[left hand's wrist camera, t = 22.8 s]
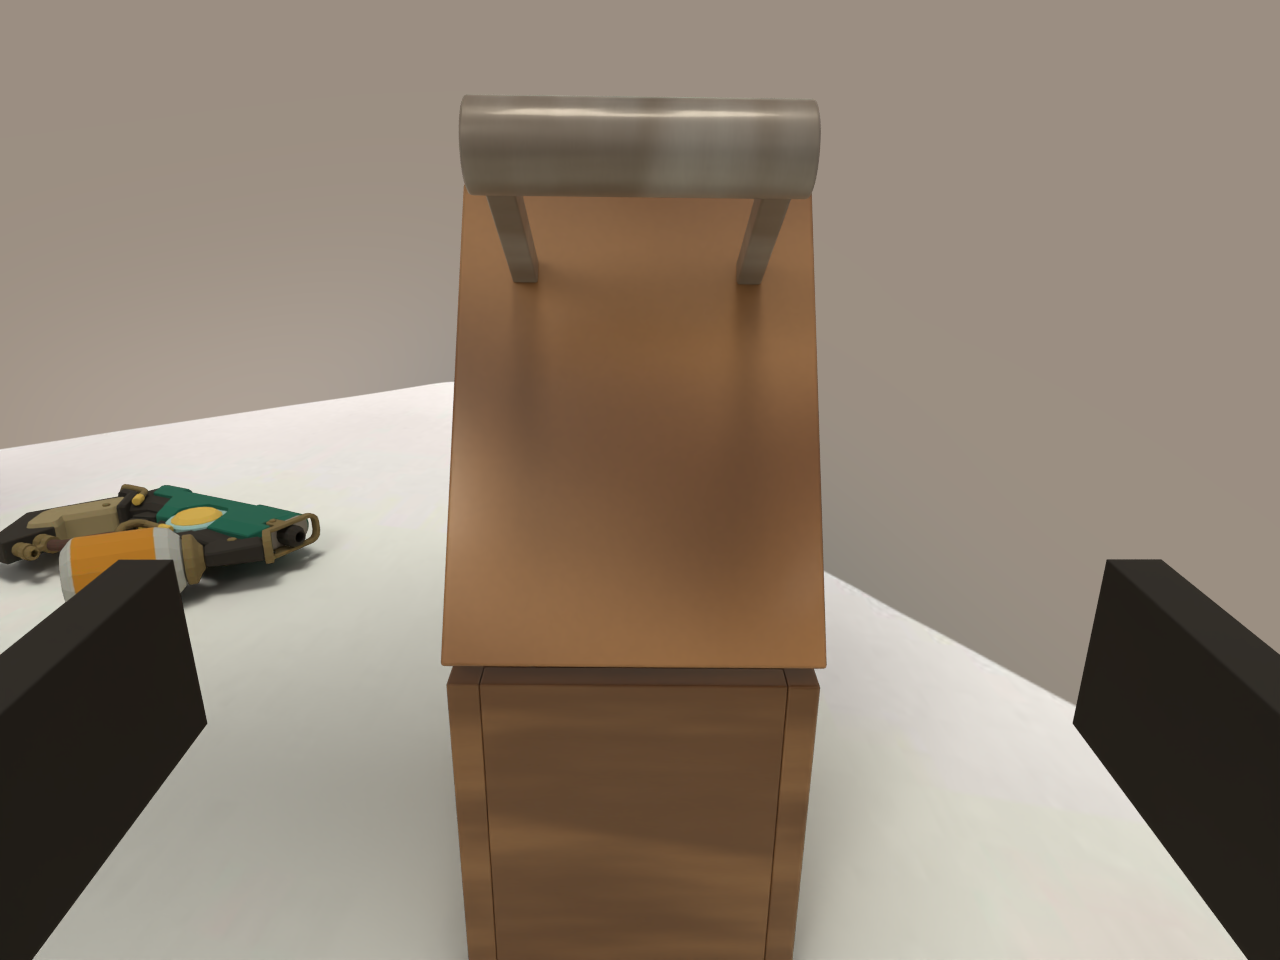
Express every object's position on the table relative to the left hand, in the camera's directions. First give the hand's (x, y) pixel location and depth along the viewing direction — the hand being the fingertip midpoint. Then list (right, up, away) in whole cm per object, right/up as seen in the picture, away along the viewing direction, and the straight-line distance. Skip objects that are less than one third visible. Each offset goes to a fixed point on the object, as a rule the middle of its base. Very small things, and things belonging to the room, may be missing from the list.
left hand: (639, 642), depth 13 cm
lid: (0, +4, +13) cm, 13 cm away
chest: (0, -11, +21) cm, 24 cm away
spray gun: (-30, -3, +42) cm, 51 cm away
